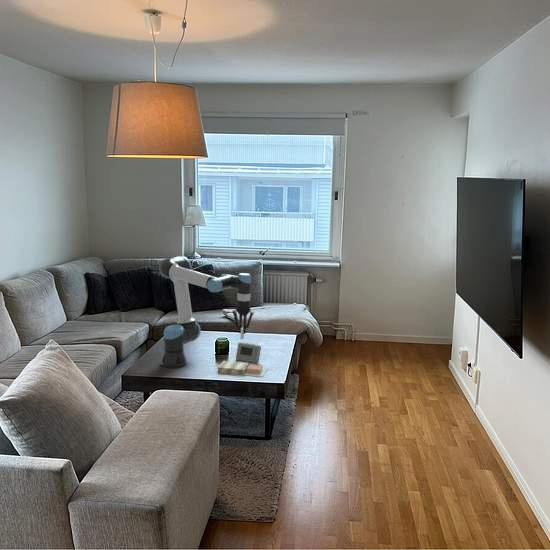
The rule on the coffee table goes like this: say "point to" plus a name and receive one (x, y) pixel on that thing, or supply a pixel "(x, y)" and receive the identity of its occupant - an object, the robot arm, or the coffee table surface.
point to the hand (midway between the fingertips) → (242, 338)
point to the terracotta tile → (254, 369)
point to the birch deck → (233, 367)
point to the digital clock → (248, 352)
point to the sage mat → (257, 374)
